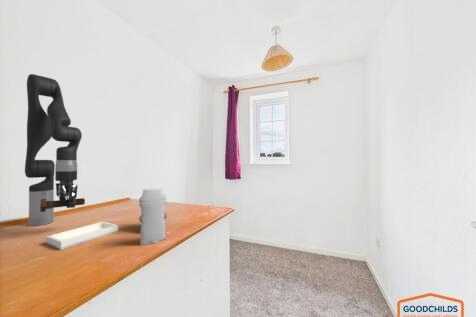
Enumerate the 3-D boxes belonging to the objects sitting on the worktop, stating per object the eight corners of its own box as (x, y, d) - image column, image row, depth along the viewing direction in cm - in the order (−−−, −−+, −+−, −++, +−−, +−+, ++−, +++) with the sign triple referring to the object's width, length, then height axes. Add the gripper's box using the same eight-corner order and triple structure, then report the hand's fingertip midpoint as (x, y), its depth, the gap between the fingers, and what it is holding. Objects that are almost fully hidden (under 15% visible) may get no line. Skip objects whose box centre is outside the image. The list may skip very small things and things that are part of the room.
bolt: (84, 209, 94) (40, 214, 83) (83, 202, 97) (40, 206, 86) (86, 199, 93) (41, 203, 82) (84, 193, 96) (41, 196, 85)
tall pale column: (141, 247, 75) (141, 189, 75) (137, 243, 77) (137, 188, 78) (168, 239, 82) (168, 186, 82) (164, 236, 85) (164, 185, 85)
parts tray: (46, 243, 78) (46, 236, 78) (102, 227, 96) (102, 221, 96) (61, 250, 72) (61, 241, 72) (117, 231, 91) (118, 225, 91)
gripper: (48, 169, 90) (48, 206, 90) (64, 171, 83) (63, 210, 84) (68, 169, 97) (68, 203, 97) (84, 170, 90) (84, 206, 90)
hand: (66, 206), depth 90 cm, fingers closed on bolt, 6 cm apart
